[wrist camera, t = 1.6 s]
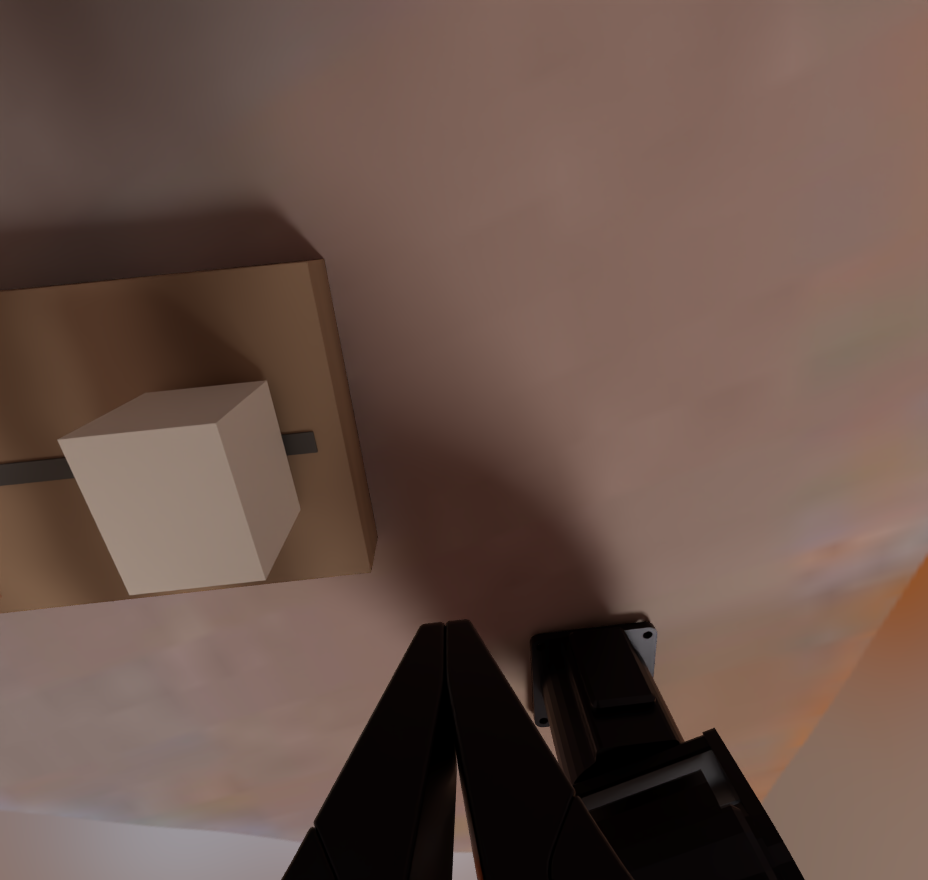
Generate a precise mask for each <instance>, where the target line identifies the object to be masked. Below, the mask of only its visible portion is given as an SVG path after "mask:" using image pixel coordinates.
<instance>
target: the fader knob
mask: <svg viewBox="0 0 928 880" xmlns="http://www.w3.org/2000/svg"><path fill="white" fill-rule="evenodd" d="M58 443H59V445H60V447H61V449H62V451H63V453H64V456H65V458H66V460H67V462H68V464H69V466H70V468H71V471H72V473H73V475H74V477H75V479H76V481H77V483H78V486H79V488H80V490H81V492H82V494H83V496H84V499H85V501H86V503H87V505H88V507H89V509H90V511H91V514H92V516H93V518H94V520H95V522H96V524H97V526H98V529H99V531H100V533H101V535H102V537H103V539H104V542H105V544H106V546H107V548H108V550H109V552H110V554H111V557H112V559H113V561H114V563H115V565H116V567H117V570H118V572H119V574H120V576H121V578H122V580H123V582H124V585H125V587H126V589H127V591H128V593H129V595H137V594H146V593H155V592H164V591H173V590H182V589H191V588H200V587H210V586H219V585H228V584H237V583H246V582H255V581H264V580H266V579H267V577H268V575H269V573H270V571H271V569H272V567H273V564H274V562H275V560H276V558H277V556H278V554H279V552H280V550H281V548H282V546H283V544H284V542H285V540H286V538H287V536H288V534H289V532H290V530H291V528H292V526H293V524H294V522H295V520H296V518H297V516H298V514H299V512H300V510H301V509H300V505H299V501H298V498H297V494H296V490H295V486H294V482H293V478H292V475H291V471H290V467H289V463H288V459H287V456H286V452H285V448H284V444H283V440H282V436H281V433H280V429H279V425H278V421H277V417H276V414H275V410H274V406H273V402H272V398H271V395H270V391H269V387H268V383H267V380H265V381H255V382H245V383H236V384H226V385H216V386H206V387H197V388H187V389H177V390H168V391H158V392H148V393H144V394H142V395H140V396H139V397H137V398H135V399H133V400H131V401H129V402H127V403H125V404H123V405H122V406H120V407H118V408H116V409H114V410H112V411H110V412H108V413H107V414H105V415H103V416H101V417H99V418H97V419H95V420H93V421H91V422H90V423H88V424H86V425H84V426H82V427H80V428H78V429H76V430H75V431H73V432H71V433H69V434H67V435H65V436H63V437H61V438H59V439H58Z"/></svg>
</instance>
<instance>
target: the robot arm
mask: <svg viewBox="0 0 928 880" xmlns="http://www.w3.org/2000/svg"><path fill="white" fill-rule="evenodd" d="M647 631H648V632H647ZM645 632H646V633H645ZM541 643H542V644H541ZM656 643H657V631H656V629H655V627H654V625H653V624H652V623H650V622H639V623H630V624H622V625H613V626H604V627H595V628H586V629H578V630H569V631H560V632H551V633H542V634H537V635H535V636H533V637H532V638H531V640H530V653H531V674H532V695H533V716H534V720H535V724H536V725H537V726H539V727H549V726H550V729H551V734H552V738H553V742H554V746H555V750H556V755H557V759H558V762H557V760H556V758H555V757H554V755H553V754H552V752H551V750H550V749H549V747H548V746H547V744H546V742H545V741H544V739H543V737H542V736H541V734H540V733H539V731H538V729H537V728H536V726H535V725H534V723H533V721H532V720H531V718H530V716H529V715H528V713H527V712H526V710H525V708H524V707H523V705H522V704H521V702H520V700H519V699H518V697H517V695H516V694H515V692H514V691H513V689H512V687H511V686H510V684H509V683H508V681H507V679H506V678H505V676H504V674H503V673H502V671H501V670H500V668H499V666H498V665H497V663H496V662H495V660H494V658H493V657H492V655H491V653H490V652H489V650H488V649H487V647H486V645H485V644H484V642H483V641H482V639H481V637H480V636H479V634H478V632H477V631H476V629H475V628H474V626H473V624H472V623H471V622H470V621H469V620H467V619H464V620H455V621H448V622H447V623H446V626H445V624H444V623H442V622H437V623H428V624H423V625H421V626H420V627H419V629H418V631H417V633H416V635H415V636H414V638H413V640H412V642H411V644H410V646H409V647H408V649H407V651H406V653H405V655H404V657H403V658H402V660H401V662H400V664H399V666H398V668H397V669H396V671H395V673H394V675H393V677H392V679H391V680H390V682H389V684H388V686H387V688H386V690H385V691H384V693H383V695H382V697H381V699H380V701H379V703H378V704H377V706H376V708H375V710H374V712H373V714H372V715H371V717H370V719H369V721H368V723H367V725H366V726H365V728H364V730H363V732H362V734H361V736H360V737H359V739H358V741H357V743H356V745H355V747H354V748H353V750H352V752H351V754H350V756H349V758H348V759H347V761H346V763H345V765H344V767H343V769H342V770H341V772H340V774H339V776H338V778H337V780H336V782H335V783H334V785H333V787H332V789H331V791H330V793H329V794H328V796H327V798H326V800H325V802H324V804H323V805H322V807H321V809H320V811H319V813H318V815H317V816H316V818H315V820H314V826H315V828H314V827H311V828H310V829H309V831H308V832H307V834H306V836H305V838H304V840H303V842H302V843H301V845H300V847H299V849H298V851H297V853H296V855H295V856H294V858H293V860H292V862H291V864H290V865H289V867H288V869H287V871H286V872H285V874H284V876H283V877H282V879H281V880H452V866H453V846H454V824H455V802H456V777H457V762H458V769H459V776H460V782H461V788H462V794H463V800H464V805H465V811H466V817H467V823H468V828H469V834H470V840H471V846H472V851H473V857H474V862H475V868H476V874H477V879H478V880H804V878H803V876H802V874H801V872H800V870H799V869H798V867H797V865H796V863H795V861H794V860H793V858H792V856H791V854H790V852H789V851H788V849H787V847H786V845H785V844H784V842H783V840H782V838H781V837H780V835H779V833H778V831H777V830H776V828H775V826H774V825H773V823H772V821H771V820H770V818H769V816H768V815H767V813H766V811H765V810H764V808H763V806H762V805H761V803H760V801H759V800H758V798H757V796H756V795H755V793H754V792H753V790H752V788H751V787H750V785H749V783H748V782H747V780H746V778H745V777H744V775H743V774H742V772H741V770H740V769H739V767H738V765H737V764H736V762H735V760H734V759H733V757H732V756H731V754H730V752H729V751H728V749H727V747H726V746H725V744H724V742H723V741H722V739H721V738H720V736H719V734H718V733H717V731H716V729H715V728H713V729H710V730H707V731H705V732H702V733H703V735H702V736H699V737H696V738H694V739H691V740H688V741H686V742H685V741H684V739H683V737H682V735H681V733H680V731H679V729H678V727H677V725H676V723H675V721H674V719H673V717H672V715H671V713H670V711H669V709H668V707H667V705H666V703H665V701H664V699H663V697H662V695H661V693H660V691H659V689H658V687H657V685H656V683H655V681H654V679H653V675H654V664H655V654H656ZM538 644H541V645H538ZM456 755H457V758H456Z"/></svg>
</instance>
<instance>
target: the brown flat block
mask: <svg viewBox="0 0 928 880" xmlns="http://www.w3.org/2000/svg"><path fill="white" fill-rule="evenodd" d="M265 380H267V383H268V387H269V391H270V395H271V398H272V402H273V406H274V410H275V414H276V417H277V421H278V425H279V429H280V433H281V436H282V440H283V444H284V448H285V452H286V456H287V459H288V463H289V467H290V471H291V475H292V478H293V482H294V486H295V490H296V494H297V498H298V501H299V505H300V509H301V510H300V512H299V514H298V516H297V518H296V520H295V522H294V524H293V526H292V528H291V530H290V532H289V534H288V536H287V538H286V540H285V542H284V544H283V546H282V548H281V550H280V552H279V554H278V556H277V558H276V560H275V562H274V564H273V567H272V569H271V571H270V573H269V575H268V577H267V579H266V580H264V581H255V582H246V583H237V584H228V585H219V586H210V587H200V588H191V589H182V590H173V591H164V592H155V593H146V594H137V595H129V593H128V591H127V589H126V587H125V585H124V582H123V580H122V578H121V576H120V574H119V572H118V570H117V567H116V565H115V563H114V561H113V559H112V557H111V554H110V552H109V550H108V548H107V546H106V544H105V542H104V539H103V537H102V535H101V533H100V531H99V529H98V526H97V524H96V522H95V520H94V518H93V516H92V514H91V511H90V509H89V507H88V505H87V503H86V501H85V499H84V496H83V494H82V492H81V490H80V488H79V486H78V483H77V481H76V479H75V477H74V475H73V473H72V471H71V468H70V466H69V464H68V462H67V460H66V458H65V456H64V453H63V451H62V449H61V447H60V445H59V443H58V439H59V438H61V437H63V436H65V435H67V434H69V433H71V432H73V431H75V430H76V429H78V428H80V427H82V426H84V425H86V424H88V423H90V422H91V421H93V420H95V419H97V418H99V417H101V416H103V415H105V414H107V413H108V412H110V411H112V410H114V409H116V408H118V407H120V406H122V405H123V404H125V403H127V402H129V401H131V400H133V399H135V398H137V397H139V396H140V395H142V394H144V393H148V392H158V391H168V390H177V389H187V388H197V387H206V386H216V385H226V384H236V383H245V382H255V381H265ZM377 538H378V536H377V531H376V526H375V521H374V515H373V510H372V505H371V500H370V495H369V489H368V484H367V479H366V474H365V469H364V464H363V458H362V453H361V448H360V443H359V438H358V432H357V427H356V422H355V417H354V412H353V407H352V401H351V396H350V391H349V386H348V381H347V376H346V370H345V365H344V360H343V355H342V350H341V344H340V339H339V334H338V329H337V324H336V319H335V313H334V308H333V303H332V298H331V293H330V287H329V282H328V277H327V272H326V267H325V262H324V259H316V260H306V261H296V262H286V263H276V264H266V265H256V266H245V267H235V268H225V269H215V270H205V271H195V272H185V273H174V274H164V275H154V276H144V277H134V278H124V279H114V280H103V281H93V282H83V283H73V284H63V285H53V286H43V287H32V288H22V289H12V290H2V291H0V613H8V612H17V611H26V610H35V609H44V608H53V607H62V606H71V605H80V604H89V603H98V602H108V601H117V600H126V599H135V598H144V597H153V596H162V595H171V594H180V593H189V592H198V591H207V590H216V589H225V588H234V587H243V586H252V585H261V584H270V583H279V582H288V581H297V580H306V579H315V578H324V577H333V576H343V575H352V574H361V573H370V572H371V570H372V565H373V559H374V554H375V549H376V544H377Z"/></svg>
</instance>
